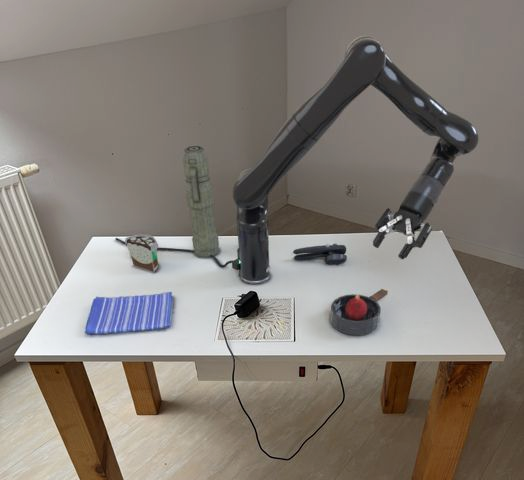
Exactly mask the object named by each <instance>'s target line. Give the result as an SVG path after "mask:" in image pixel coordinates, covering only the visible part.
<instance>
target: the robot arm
mask: <svg viewBox="0 0 524 480" xmlns="http://www.w3.org/2000/svg"><path fill="white" fill-rule="evenodd" d="M370 86H372V87H373V88H374V89H376V90H377V91H378V92H380V93H381V94H382V95H384V96H385V97H386V98H387V99H388V100H389V101H390V102H391V103H392V104H393V105H394V106H395V107H396V108H397V109H398V110H399V111H400V112H401V114H403V116H405V118H406V119H408V120H409V121H410V122H411V123H412V124H413V125H414V126H415V127H417V128H418V129H419V130H420V131H421V132H423V133H424V134H425V135H427V136H429V137H437V138H438V140H437V142H436V143H435V146H434V148H433V150H432V152H431V156H430V158H429V162H428V163H427V164H426V166H425V168H424V169H423V170H422V173H421V174H420V175H419V177H418V178H417V179H416V181H415V182H414V183H413V184H412V186H411V188H409V191H408V192H407V194H406V196H405V197H404V198H403V200H402V202H401V204H400V206H399V209H398V210H396V212H395V211H393V210H391V208H388V207H387V208H386V209H385V211H384V212H383V214H382V215H381V216H380V217H379V219H378V220H377V222H376V223H375V225H374V227H375V229H377V234H376V235H375V237H374V239H373V240H372V246H373V247H374V248H375V249H379V248H380V246H381V244H382V243H383V241H384V240H385V238H386V236H387V235H389V234H391V233H395V232H397V233H399V234H403V235H404V236H406V237H407V243H405V244H404V245H403V246H402V248H401V250H400V251H399V253H398V258H399V259H400V260H404V259H407V257H408V256H409V254H411V252H412V250H413V249H414V248H418V249H422V248H423V246H424V245H425V242H426V241H427V240H428V237H429V236H430V234H431V232H432V230H433V227H432V226H431V224H430V223H429V222H426V223H425V222H424V221H426V220H427V218H428V217H429V215H430V214H431V212H432V211H433V209H434V207H435V206H436V204H437V203H438V202H439V200H440V198H441V196H442V194H443V192H444V190H445V189H446V187H447V185H448V184H449V182H450V181H451V179H452V177H453V176H454V173H455V170H456V167H455V165H454V163H455V161H456V160H457V158H458V157H459V156H463V155H464V156H465V155H468V154H470V153H472V152H474V150H476V148H477V147H478V146H479V144H480V143H479V142H480V133H479V131H478V129H477V127H476V126H475V125H474V124H473V123H472V122H471V121H469V120H468V119H466V118H464V117H462V116H460V115H459V114H457V113H455V112H452V111H450V110H448V109H447V108H446V107H445V106H444V105H443V104H442V103H441V102H440V101H439V100H437V99H436V98H435V97H434V96H433V95H432V94H430V93H429V92H428V91H427V90H425V89H424V88H423V87H421V86H420V85H419V84H417V83H416V82H415V81H414V80H413V79H411V78H410V77H409V76H407V74H406V73H404V71H402V70H401V69H400V68H399V67H398V66H397V65H396V64H395V62H394V61H393V60H392V59H391V58H390V56H389V55H388V54H387V53H386V51H385V48H384V46H383V45H382V44H381V42H380V41H379V40H378V39H377V38H376V37H374V36H372V35H360V36H358V37H356V38H354V39H353V40H351V42H350V43H349V44H348V45H347V47H346V49H345V53H344V59H343V60H342V62H341V63H340V65H339V66H338V67H337V69H336V70H335V72H334V73H333V74H332V75H331V77H330V78H328V80H327V82H326V83H325V84H324V85H323V86H322V87H321V88H319V89H318V90H317V91H316V92H315V93H314V94H313V95H311V96H310V97H309V98H307V99H306V100H305V101H303V103H302V104H300V105H299V106H298V107H297V109H295V110H294V112H293V113H292V114H291V115H290V116H289V117H288V119H286V121H285V122H284V124H283V125H282V126H281V128H280V129H279V130H278V132H277V133H276V135H275V136H274V137H273V139H272V140H271V142H270V144H269V145H268V147H267V149H266V151H265V152H264V154H263V156H262V157H261V158H260V159H259V161H258V162H256V164H255V165H254V166H253V167H250V168H246V169H243V170H242V171H241V172H239V174H238V175H237V177H236V179H235V181H234V184H233V187H232V199H233V202H234V204H235V205H236V230H237V243H238V244H237V245H238V247H237V248H236V255H237V256H236V257H237V258H236V259H233V260H228V261H226V262H225V263H224V264H221V262H220V261H219V260H218V257H216V256H213V255H210V258H212V259H213V260H214V261H215V263H216V264H217V265H218V267H221V268H226V267H227V266H229V264H231V268H232V269H233V270H235V271H237V272H238V276H239V277H240V280H241V281H242V282H244V283H246V284H250V285H260V284H263V283H266V282H267V281H269V280H270V278H271V271H270V270H271V268H272V267H271V264H270V243H269V195H270V193H271V192H272V190H273V189H274V188H275V186H276V185H277V184H278V183H279V182H280V180H281V179H282V178H283V177H284V176H285V175H286V174H287V173H288V172H289V171H290V170H291V169H292V168H293V167H294V166H295V165H297V163H298V162H299V161H301V160H302V159H303V157H305V156H306V155H307V154H308V153H309V151H311V149H312V148H313V147H314V146H315V145H316V144H317V143H318V142H319V141H320V140H321V138H322V137H323V136H324V135H325V133H326V132H328V130H329V129H330V128H331V127H332V125H333V124H334V123H335V122H336V121H337V119H338V118H339V117H340V115H341V114H342V113H343V112H344V110H345V109H346V108H347V107H348V106H349V105H350V104H351V103H352V102H353V101H355V99H356V98H358V97H359V96H360V95H361V94H362V93H363V92H364V91H366V90H367V88H369V87H370ZM418 230H420V232H419V233H418V235H417V237H416V232H417V231H418ZM115 240H116V241H117V242H119V243H121V244H123V245H125V246H127V244H125V240H122V239H120V238H118V237H115ZM157 251H173V252H187V253H193V254H195V251H194V249H187V248H175V247H174V248H173V247H158V248H157Z"/></svg>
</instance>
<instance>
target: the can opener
mask: <svg viewBox="0 0 524 480" xmlns="http://www.w3.org/2000/svg"><path fill="white" fill-rule="evenodd" d="M292 252H293V254H294V256H293V259H294V260H296V261H309V260H315V259H324V260H325V263H326V264H328V265H340V264H344V263H346V262H347V260H348V259H347V258H348V256H347V255H346V252H347V246H345V244H337V243H333V244H328V243H327V244H325V245H314V246H313V245H312V246H306V247H300V248H296V249H294V250H293V251H292Z"/></svg>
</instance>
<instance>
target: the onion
mask: <svg viewBox="0 0 524 480" xmlns="http://www.w3.org/2000/svg"><path fill="white" fill-rule="evenodd" d="M356 295H357V296H356V297H355V298H353V299H351V300H350V301H349V302H348V303H347V304H346V308H345V312H346V314H347V316H348V317H349V318H350V319H351V320H354V321H357V320H360V319H362V318H363V317H364V316H365V315H366V313H367V305H366V303H365V302H364V300H362V299H361V298H360V296H359V295H360V294H356Z"/></svg>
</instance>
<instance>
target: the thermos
mask: <svg viewBox="0 0 524 480" xmlns="http://www.w3.org/2000/svg"><path fill="white" fill-rule="evenodd" d="M208 160H209V159H208V155H207V152H206V150H205V149H204V147H202V146H199V145H191V146H188V147H186V148H185V149H183V156H182V163H183V170H184V176H185V188H184V191H185V198H186V204H187V207H188V208H189V216H190V223H191V224H190V225H191V229H192V238H191V241H192V247H193V250H194V251H195V253H194V255H195V256H196V257H197V258H201V259H209V258H210V259H211V257H210V255H213V256H215V257H216V256H217V255H218V254H219V253H220V248H219V246H220V242H219V241H220V240H219V234H218V232H217V227H216V219H215V210H214V205H215V197H214V186H213V184H212V182H211V178H210V175H209V174H210V169H209V167H210V166H209V161H208Z"/></svg>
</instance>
